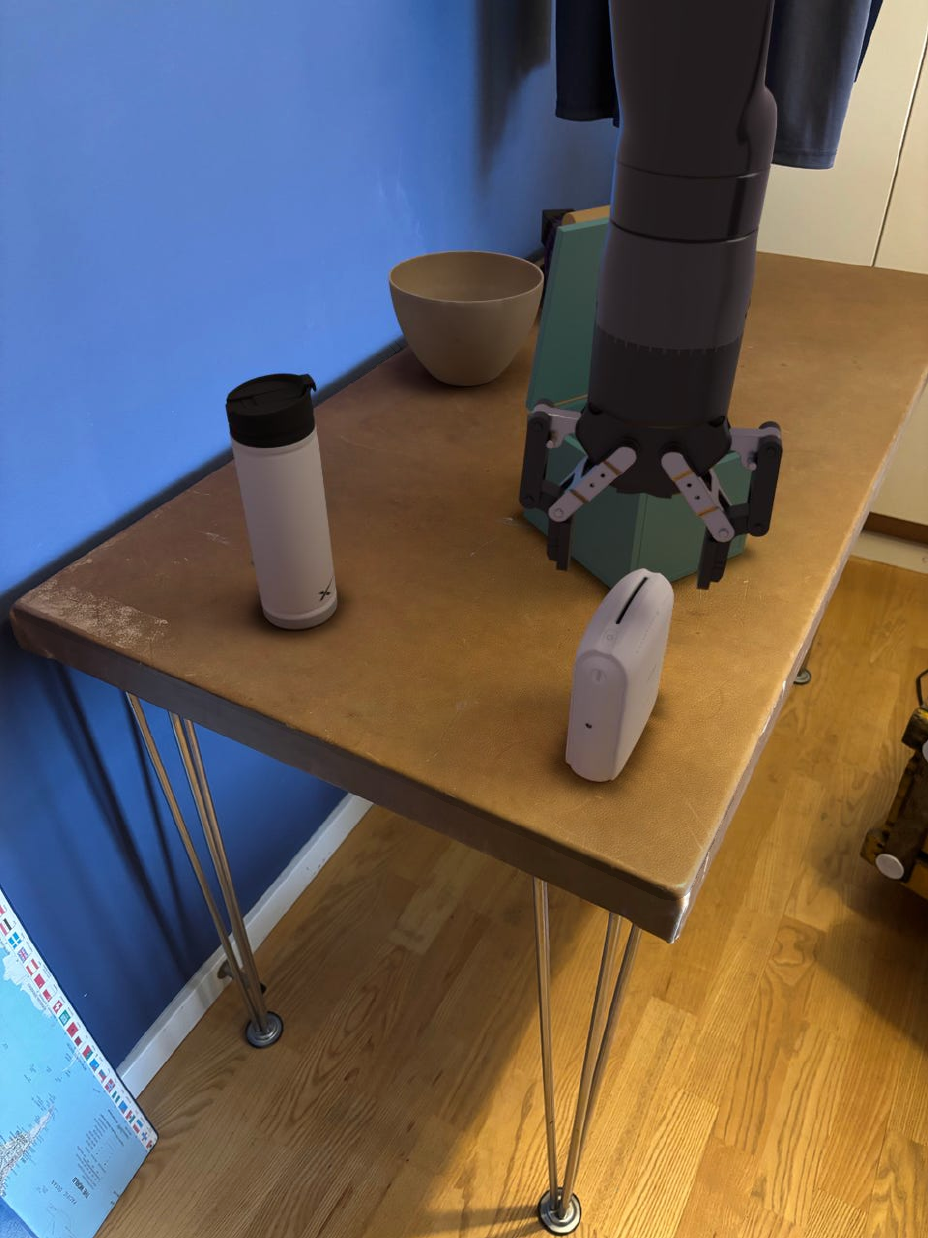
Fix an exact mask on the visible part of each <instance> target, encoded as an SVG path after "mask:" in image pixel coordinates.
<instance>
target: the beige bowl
mask: <svg viewBox="0 0 928 1238" xmlns="http://www.w3.org/2000/svg"><path fill="white" fill-rule="evenodd" d="M543 283H544V275H543V272H542V271H541V270H540V267H538V266H537V265H536V264H534V263H532V262H531V261H528V260H526V259H523V258H522V257H517V256H514V255H511V254H505V253H500V252H492V251H483V250H446V251H438V252H430V253H425V254H420V255H416V256H413V257H410V258H406V259H404V260H402V261H400V262H398V263H397V264H395V265H394V266H393V267H392V268H391V269H390V270H389V272H388V287H389V293H390V299H391V302H392V307H393V311H394V314H395V317H396V320H397V323H398V326H399V327H400V330H401V333H402V334H403V337H404V339H405V341H406V342H407V344H408V346H409V347H410V349H411V351H412V352H413V355H415V357H416V358H417V359H418V361H419V362H420V363H421V364H422V365H423V367H424V368H425V369H426V370H427V372H429V373H430V374H431V375H432V376H433V378H435V379H437V380H438V381H440V382H442V383H445V384H448V385H452V386H460V387H471V386H472V387H473V386H479V385H484V384H487V383H490V382H492V381H494V380H496V379H497V378H498V377H499V376H500V375H501V374H502V373H503V372H504V371H505V370H506V369H507V367H508V366H509V365H510V364H511V362H512V361H513V360H514V359H515V357H516V356H517V355H518V354H519V352H520V350H521V349H522V347H523V346H524V344H525V343H526V340H527V338H528V337H529V335H530V333H531V330H532V328H533V325H534V323H535V320H536V319H537V315H538V312H539V308H540V304H541V296H542V290H543Z"/></svg>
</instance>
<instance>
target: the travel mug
mask: <svg viewBox="0 0 928 1238" xmlns="http://www.w3.org/2000/svg"><path fill="white" fill-rule="evenodd" d="M312 390H313V392H315V393H316V392H318V388H317V384H316V382H315V380H314V378H313V377H312V376H311V375H310V374H309V373H304V374H296V373H287V372H286V373H285V372H281V373H280V372H279V373H271V374H265V375H260V376H258V377H254V378H251V379H249V380H246V381H244V382H242V383H240V384H239V385H237V386H236V387H234V388H233V389H232V390H231V391H230V392H228V394H227V397H226V400H225V401H226V403H225V404H224V407H225V412H226V416H227V422H228V429H229V432H228V433H229V438H230V442H231V448H232V454H233V459H234V463H235V470H236V475H237V480H238V485H239V490H240V495H241V496H240V497H241V502H242V507H243V511H244V517H245V523H246V528H247V533H248V538H249V543H250V549H251V554H252V559H253V565H254V570H255V576H256V580H257V586H258V591H259V596H260V597H259V598H260V602H261V607H262V612H263V616H264V617H265V619H266V620H267V621H268V622H270V623H271V624H272V625H274V626H276V627H279V628H281V629H287V630H303V629H309V628H313V627H315V626H318V625H320V624H322V623H324V622H325V621H327V620H329V619H330V618H331V617H332V616H333V614H334V613H335V611H336V610H337V609H338V601H339V600H338V593H337V587H336V586H337V585H336V584H337V583H336V577H335V568H334V559H333V552H332V551H333V550H332V543H331V535H330V527H329V519H328V511H327V501H326V494H325V487H324V478H323V471H322V469H323V468H322V462H321V454H320V445H319V437H318V432H317V423H316V419H315V415H314V414H315V413H314V411H315V410H314V405H313V401H312Z"/></svg>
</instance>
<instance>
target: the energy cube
mask: <svg viewBox="0 0 928 1238" xmlns="http://www.w3.org/2000/svg"><path fill="white" fill-rule="evenodd" d="M597 207H598V206H597ZM597 207H595V208H597ZM575 211H576V210H575V209H574V208H573V207H571V208H551V209H549V208H548V209H542V211H541V233H540V234H541V235H540V242H541V245H543V246H544V255H543V256H544V257H543V258H544V259H543V263H542V264H541V265H539V269H540V270H541V271H542V272H543V275H544V283H543V290H542V296H541V300H540V302H541V304H542V305H543V304H544V299H545V293H546V288H547V282H548V277H549V271H550V266H551V260H552V255H553V249H554V243H555V238H556V232H557V227H559V226H562V220H563V217H564V215H565V214H567V213H570V212H575Z"/></svg>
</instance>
